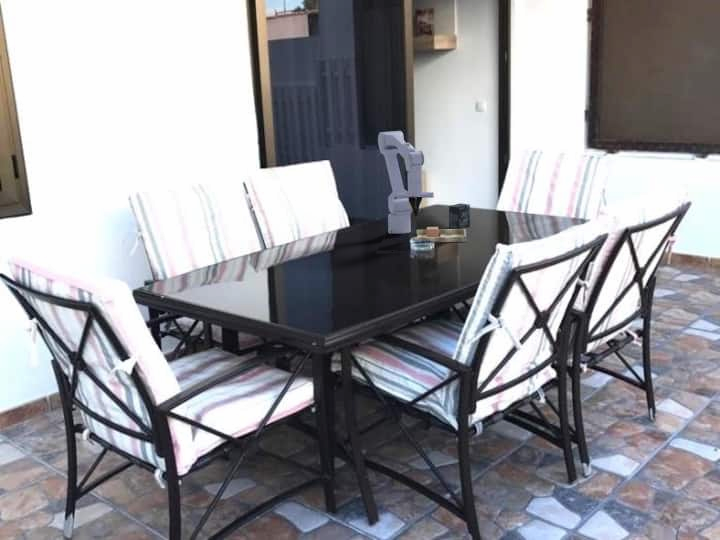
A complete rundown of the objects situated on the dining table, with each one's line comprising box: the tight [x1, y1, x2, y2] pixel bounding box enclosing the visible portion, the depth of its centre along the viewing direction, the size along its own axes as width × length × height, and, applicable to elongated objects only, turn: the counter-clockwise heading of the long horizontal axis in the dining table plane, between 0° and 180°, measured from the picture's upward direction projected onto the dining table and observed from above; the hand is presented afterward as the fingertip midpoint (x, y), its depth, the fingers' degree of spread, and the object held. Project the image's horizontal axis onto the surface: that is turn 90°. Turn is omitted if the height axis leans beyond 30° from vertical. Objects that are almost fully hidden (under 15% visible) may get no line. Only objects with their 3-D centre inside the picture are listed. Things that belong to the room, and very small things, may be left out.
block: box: [426, 226, 440, 237], centre depth 295 cm, size 4×4×4 cm
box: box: [448, 203, 471, 229], centre depth 315 cm, size 8×6×11 cm
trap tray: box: [413, 228, 467, 243], centre depth 295 cm, size 20×16×3 cm
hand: (415, 215), depth 294 cm, fingers closed
